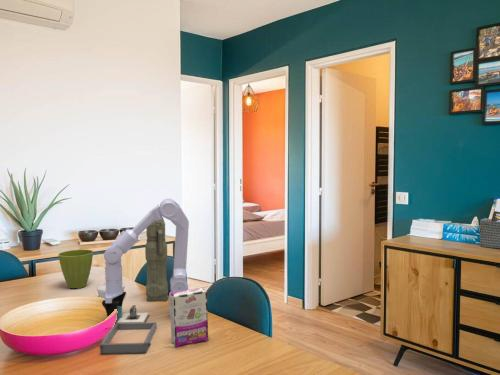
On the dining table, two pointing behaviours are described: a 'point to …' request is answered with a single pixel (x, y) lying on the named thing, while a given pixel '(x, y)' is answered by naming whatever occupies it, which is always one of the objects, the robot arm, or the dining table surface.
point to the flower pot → (76, 267)
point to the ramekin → (103, 288)
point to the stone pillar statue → (156, 262)
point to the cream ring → (125, 316)
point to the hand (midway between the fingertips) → (114, 316)
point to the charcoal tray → (128, 347)
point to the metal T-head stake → (133, 313)
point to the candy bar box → (189, 316)
